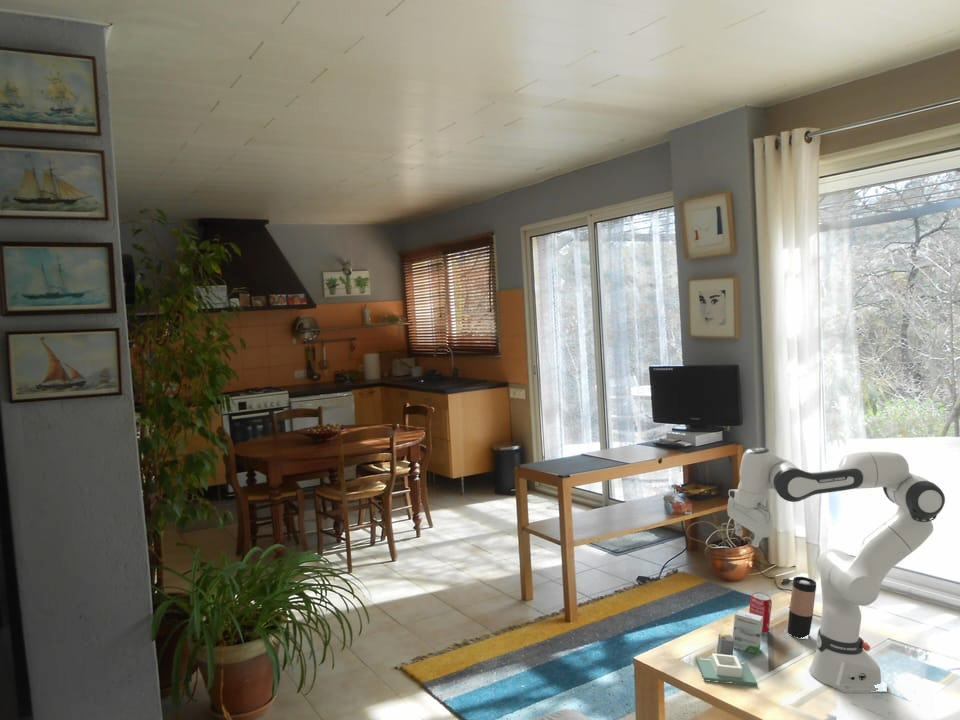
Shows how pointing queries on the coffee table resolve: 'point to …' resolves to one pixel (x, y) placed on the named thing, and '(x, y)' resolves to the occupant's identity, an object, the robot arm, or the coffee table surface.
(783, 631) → the coffee table surface
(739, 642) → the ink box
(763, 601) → the soda can
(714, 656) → the header board
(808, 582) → the travel mug
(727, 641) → the plug
